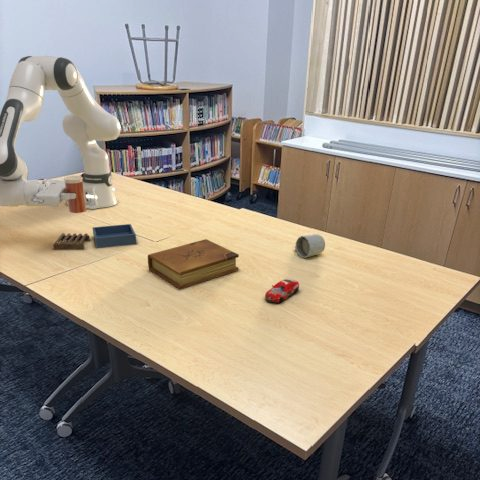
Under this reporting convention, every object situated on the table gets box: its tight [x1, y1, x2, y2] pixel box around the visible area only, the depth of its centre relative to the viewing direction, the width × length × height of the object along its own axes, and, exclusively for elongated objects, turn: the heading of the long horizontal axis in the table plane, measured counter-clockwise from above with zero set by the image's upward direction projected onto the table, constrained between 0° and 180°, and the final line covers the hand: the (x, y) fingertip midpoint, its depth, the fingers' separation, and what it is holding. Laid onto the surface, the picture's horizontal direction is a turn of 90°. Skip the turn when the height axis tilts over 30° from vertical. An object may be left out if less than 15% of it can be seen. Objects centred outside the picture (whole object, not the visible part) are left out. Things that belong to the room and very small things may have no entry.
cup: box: [63, 175, 87, 214], centre depth 167 cm, size 6×6×12 cm
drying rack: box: [52, 232, 91, 250], centre depth 175 cm, size 10×10×2 cm
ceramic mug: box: [294, 233, 326, 259], centre depth 170 cm, size 11×8×8 cm
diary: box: [147, 238, 240, 290], centre depth 156 cm, size 23×19×6 cm
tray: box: [92, 223, 138, 249], centre depth 179 cm, size 14×12×4 cm
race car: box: [264, 278, 300, 304], centre depth 141 cm, size 13×5×4 cm, turn 140°
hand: (77, 192), depth 167 cm, fingers closed on cup, 6 cm apart
